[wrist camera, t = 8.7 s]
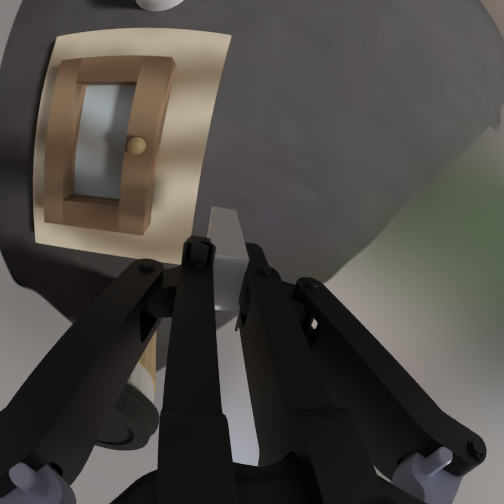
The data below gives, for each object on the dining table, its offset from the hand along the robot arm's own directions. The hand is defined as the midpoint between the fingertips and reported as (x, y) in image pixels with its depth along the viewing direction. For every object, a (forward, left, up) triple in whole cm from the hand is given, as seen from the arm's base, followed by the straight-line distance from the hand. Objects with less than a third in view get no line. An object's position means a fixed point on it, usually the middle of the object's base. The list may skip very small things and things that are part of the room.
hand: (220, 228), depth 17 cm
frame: (-4, -10, -5) cm, 12 cm away
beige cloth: (-4, -10, -7) cm, 13 cm away
